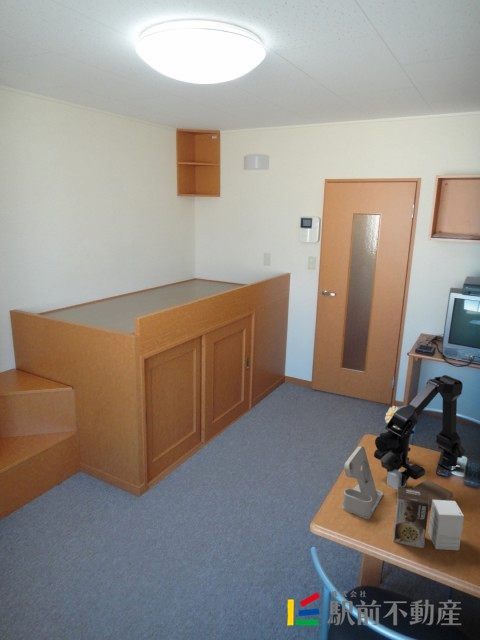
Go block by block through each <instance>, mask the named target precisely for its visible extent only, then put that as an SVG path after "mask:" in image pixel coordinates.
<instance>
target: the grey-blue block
mask: <svg viewBox="0 0 480 640" xmlns="http://www.w3.org/2000/svg"><path fill="white" fill-rule="evenodd" d="M403 471H404V470H403ZM403 471H402V470H400V469H399V470H398V471H397V470H393V471H389V472H387V475H386V484H387V485H388V486H390V487H392V489H395V490H397V491H398V487H403V488H406V486H407V482H406V483H405V485H404V486H401V481H402V474H401V472H403Z"/></svg>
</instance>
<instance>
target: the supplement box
mask: <svg viewBox="0 0 480 640" xmlns="http://www.w3.org/2000/svg"><path fill="white" fill-rule="evenodd" d="M464 518H465V515H464V514H463V512H462V510H461V508H460V506H459V505H458V503H457V502H456V500H451V501H446V500H432V507H430V515H429V522H428V523H429V524H428V531H427V534H428V536H429V537H430V540H431V541H432V545H433V546H434V549H435V550H446V551H447V550H448V551H460V545H461V540H462V539H461V538H462V533H463V527H464Z"/></svg>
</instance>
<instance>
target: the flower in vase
mask: <svg viewBox="0 0 480 640" xmlns="http://www.w3.org/2000/svg"><path fill="white" fill-rule="evenodd" d="M398 410H399V407H398V406H395V405H392V407H391V406H390V407H389V408H388V410H387V412H386V413H385V416H384V421H385V423H386V424H388V423H389V421H390V419H391V418H392V416H393V415H394V413H396V412H397V411H398ZM393 427H394V428H396V429H400V428H398V427H396V426H394V425H393Z"/></svg>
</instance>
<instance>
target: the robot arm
mask: <svg viewBox="0 0 480 640" xmlns="http://www.w3.org/2000/svg"><path fill="white" fill-rule="evenodd" d="M463 387H464V385H463V382H462V381H461V380H459V379H457V378H454V377H452V376H450V375H446V374H444V375H443V374H442V376H435V377H434V378H430V379H428V380H427V382H426V384H425V386H424V387H423V388H422V389H420V391H419V392H418V393H417V394H416V395H415V397H414V398H413V399H412V400H411V401H410V403H408V405H406V406H403V407H399V408H398V411H397V412H396V413H394V415H393V416H392V418H391V419H390V421H389V423H386V426H385V430H387V431H385V432H380V434H379V436H376V438H375V439H374V443H375V444H374V445H375V448H376V449H375V450H374V452H373V457H374V458H375V459H377V460H378V461H380V465H381V468H383V469H385V470H386V472H387V473H388V472H389V471H393V470H397V471H398V470H400V469H401V468H404V470H403V472H401V474H402V481H401V486H404V485H405V483H406V484H407V482H408V481H409V479H410V478H411V479H413V480H414V481H415V480H418V479H420V478H422V477H423V476H425V475H426V469H425V468H424V467H423V466H421V465H419V464H417V463H414V464H410V463H408V462H409V461H410V457H409V456H408V455H409V452H411V447H410V437H411V435H413V434H415V433H416V432H415V431H414V428H415V427H416V425H417V424H418V422H419V416H420V414H421V413H423V411H424V410H425V409H426V407H427V406H428V405H429V404H430V403H431V402H432V401H433V399H434V398H436V397H437V395H438V394H440V397H441V399H442V414H441V415H442V420H441V421H442V422H441V423H442V424H441V430H440V432H439V433H437V434H436V436H435V437H436V444H437V449H439V450H441V451H442V455H441V456H442V457H441V461H442V462H441V464H442V465H445V466H447V467H448V466H456V465H457V464H458V460H459V459H462V458H463V456H465V453H466V449H464V447H463V446H462V442H461V437H460V435H459V433H458V432H457V410H458V409H457V408H458V406H457V405H458V403H457V402H458V398H460V397H461V395H462V393H463ZM393 426H396V427H398V428H400V429H396V428H394V427H393ZM439 462H440V461H439ZM439 462H437V464H438V463H439Z"/></svg>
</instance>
